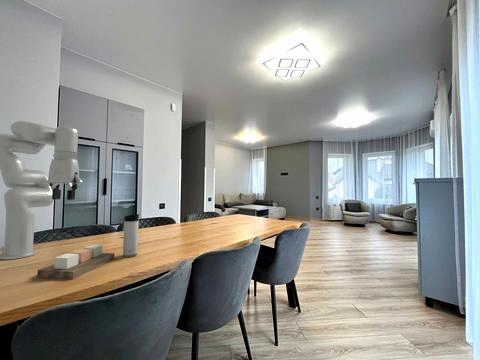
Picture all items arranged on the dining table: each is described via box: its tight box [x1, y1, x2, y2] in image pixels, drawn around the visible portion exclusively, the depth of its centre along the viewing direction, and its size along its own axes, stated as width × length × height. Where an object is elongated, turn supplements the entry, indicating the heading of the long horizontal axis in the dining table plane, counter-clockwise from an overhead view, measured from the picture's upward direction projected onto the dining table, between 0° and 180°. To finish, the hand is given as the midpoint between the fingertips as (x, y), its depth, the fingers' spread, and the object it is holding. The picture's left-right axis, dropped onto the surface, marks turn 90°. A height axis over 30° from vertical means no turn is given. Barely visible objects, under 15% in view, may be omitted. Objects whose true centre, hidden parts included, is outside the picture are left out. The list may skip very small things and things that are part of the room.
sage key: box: [82, 244, 103, 258], centre depth 95 cm, size 5×5×4 cm
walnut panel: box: [36, 252, 115, 280], centre depth 88 cm, size 14×22×2 cm, turn 175°
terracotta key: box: [69, 248, 91, 263], centre depth 88 cm, size 5×5×4 cm
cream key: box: [53, 253, 79, 269], centre depth 82 cm, size 5×5×4 cm
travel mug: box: [122, 213, 140, 258], centre depth 104 cm, size 6×7×20 cm
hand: (63, 199), depth 90 cm, fingers open, 5 cm apart
